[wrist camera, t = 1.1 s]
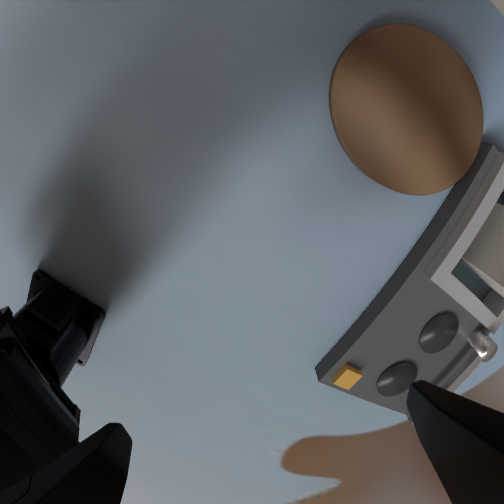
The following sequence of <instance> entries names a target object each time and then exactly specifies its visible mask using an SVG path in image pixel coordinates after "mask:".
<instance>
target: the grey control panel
mask: <svg viewBox="0 0 504 504" xmlns="http://www.w3.org/2000/svg"><path fill="white" fill-rule="evenodd" d="M502 192H503V193H504V152H499V151H498V149H497V148H496V147H495V146H494V144H490V143H483V142H481V144H480V147H479V150H478V153H477V155H476V157H475V159H474V161H473V163H472V165H471V166H470V168H469V169H468V171H467V172H466V173H465V174H464V176H463V177H462V178H461V179H460V180H458V181H457V182H456V184H455V186H454V187H453V189H452V191H451V192H450V194H449V195H448V197H447V198H446V200H445V202H444V203H443V205H442V206H441V208H440V209H439V211H438V212H437V214H436V216H435V217H434V219H433V220H432V222H431V223H430V225H429V226H428V227H427V229H426V230H425V232H424V233H423V235H422V236H421V238H420V239H419V240H418V242H417V243H416V245H415V246H414V248H413V249H412V250H411V252H410V253H409V255H408V256H407V257H406V259H405V260H404V261H403V263H402V264H401V265H400V267H399V268H398V269H397V271H396V272H395V273H394V275H393V276H392V277H391V279H390V280H389V281H388V283H387V284H386V285H385V286H384V288H383V289H382V290H381V292H380V293H379V294H378V295H377V297H376V298H375V299H374V300H373V302H372V303H371V304H370V305H369V307H368V308H367V309H366V310H365V311H364V313H363V314H362V315H361V316H360V317H359V319H358V320H357V321H356V322H355V323H354V325H353V326H352V327H351V328H350V329H349V330H348V332H347V333H346V334H345V335H344V336H343V337H342V339H341V340H340V341H339V342H338V343H337V344H336V345H335V346H334V348H333V349H332V350H331V351H330V352H329V353H328V354H327V355H326V356H325V358H324V359H323V360H322V361H321V362H320V363H319V364H318V365H317V366H316V367H315V370H316V374H317V378H318V381H319V382H321V383H323V384H326V385H328V386H331V387H333V388H336V389H338V390H341V391H343V392H346V393H348V394H351V395H353V396H356V397H359V398H361V399H364V400H367V401H369V402H372V403H375V404H378V405H380V406H383V407H386V408H389V409H392V410H394V411H397V412H400V413H403V414H406V413H405V411H406V410H407V409H408V408H407V396H408V391H409V386H410V384H411V383H412V382H415V381H418V380H425V381H427V382H429V383H432V384H434V385H436V386H439V387H441V386H442V385H443V384H444V383H445V382H446V381H447V380H448V379H449V378H450V377H451V376H452V375H453V374H454V373H455V371H456V370H457V369H458V368H459V367H460V366H461V365H462V364H463V363H464V361H465V360H466V359H467V358H468V357H469V356H470V355H471V353H472V352H473V350H472V349H471V348H470V346H469V345H468V344H467V340H468V337H469V336H470V334H471V333H472V332H473V331H474V330H476V329H478V328H481V329H482V330H483V331H484V332H485V333H486V334H487V335H489V334H490V332H492V333H493V334H494V333H495V332H496V331H497V330H498V328H499V327H500V326H501V324H502V323H503V322H504V297H502V296H501V295H500V294H499V293H497V292H496V291H495V290H494V289H492V288H491V290H490V291H489V293H488V294H487V295H486V297H485V298H484V300H483V301H482V302H481V301H480V300H479V299H478V298H477V297H476V296H475V295H474V294H473V293H472V292H471V291H469V290H468V289H467V288H466V287H465V286H464V285H463V284H462V283H461V282H460V281H459V280H458V279H457V278H456V277H454V276H453V275H452V274H451V272H452V270H453V269H454V268H455V266H456V265H457V263H458V262H459V260H460V259H461V257H462V256H463V255H464V253H465V252H466V250H467V249H468V247H469V246H470V244H471V243H472V241H473V240H474V238H475V236H476V235H477V233H478V232H479V230H480V229H481V227H482V225H483V224H484V222H485V220H486V219H487V217H488V215H489V214H490V212H491V210H492V209H493V207H494V205H495V203H496V202H497V200H498V198H499V196H500V195H501V193H502Z"/></svg>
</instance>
